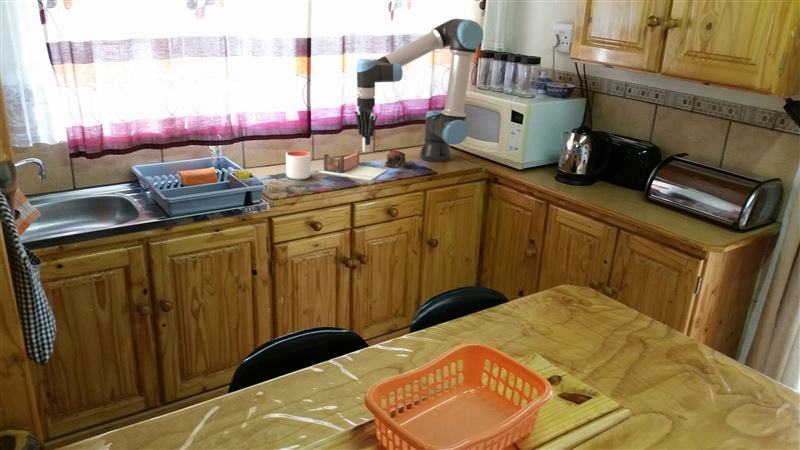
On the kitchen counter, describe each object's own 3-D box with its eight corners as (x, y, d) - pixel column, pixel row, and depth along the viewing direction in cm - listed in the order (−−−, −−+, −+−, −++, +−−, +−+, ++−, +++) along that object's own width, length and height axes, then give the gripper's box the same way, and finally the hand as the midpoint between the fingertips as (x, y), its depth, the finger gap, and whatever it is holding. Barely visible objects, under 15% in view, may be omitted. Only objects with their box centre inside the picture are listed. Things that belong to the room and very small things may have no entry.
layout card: (387, 170, 283) (387, 169, 282) (370, 180, 266) (370, 179, 266) (337, 163, 291) (337, 162, 290) (318, 172, 274) (318, 171, 274)
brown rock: (379, 166, 292) (384, 149, 293) (395, 173, 297) (400, 156, 298) (394, 165, 282) (399, 147, 283) (410, 172, 287) (415, 155, 288)
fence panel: (344, 171, 275) (344, 156, 273) (341, 170, 275) (341, 155, 273) (359, 164, 286) (359, 150, 284) (356, 164, 287) (356, 149, 285)
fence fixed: (344, 173, 275) (344, 156, 272) (342, 174, 273) (342, 157, 271) (325, 170, 278) (325, 153, 275) (323, 171, 276) (323, 154, 274)
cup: (307, 173, 272) (307, 150, 269) (312, 179, 263) (312, 156, 260) (284, 174, 269) (284, 151, 266) (288, 181, 260) (288, 157, 257)
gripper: (349, 95, 272) (350, 149, 281) (367, 100, 263) (367, 155, 271) (364, 94, 277) (364, 147, 285) (382, 98, 267) (382, 153, 276)
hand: (366, 151), depth 278 cm, fingers closed
